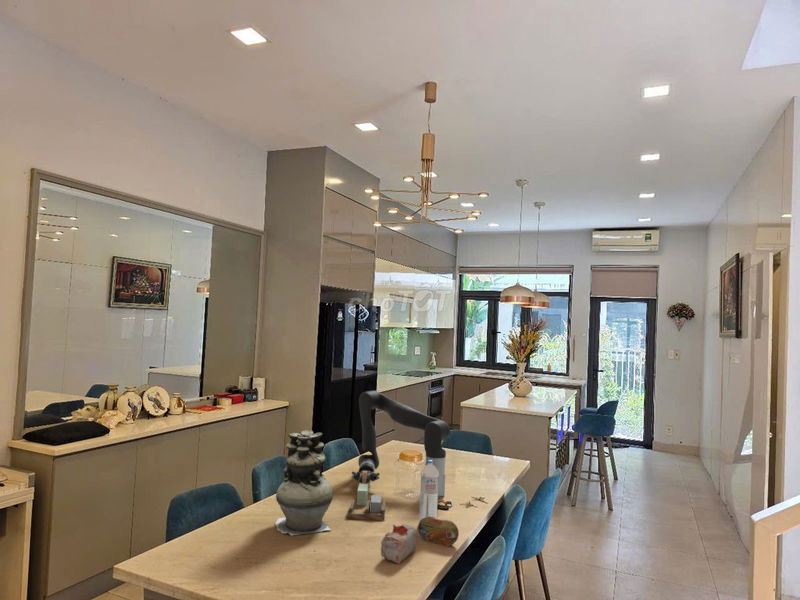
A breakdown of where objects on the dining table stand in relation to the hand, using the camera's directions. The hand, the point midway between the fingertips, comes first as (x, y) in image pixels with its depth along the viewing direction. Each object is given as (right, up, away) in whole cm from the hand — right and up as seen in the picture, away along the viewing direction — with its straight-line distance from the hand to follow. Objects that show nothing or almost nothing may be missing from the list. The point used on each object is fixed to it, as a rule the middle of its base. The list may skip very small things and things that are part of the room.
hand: (364, 480), depth 237 cm
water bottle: (+27, -7, -32) cm, 42 cm away
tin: (+30, -6, -47) cm, 56 cm away
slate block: (+6, -6, -21) cm, 23 cm away
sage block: (0, -6, -4) cm, 8 cm away
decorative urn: (-20, -4, -38) cm, 44 cm away
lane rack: (+3, -6, -22) cm, 23 cm away
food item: (+16, -5, -60) cm, 62 cm away
